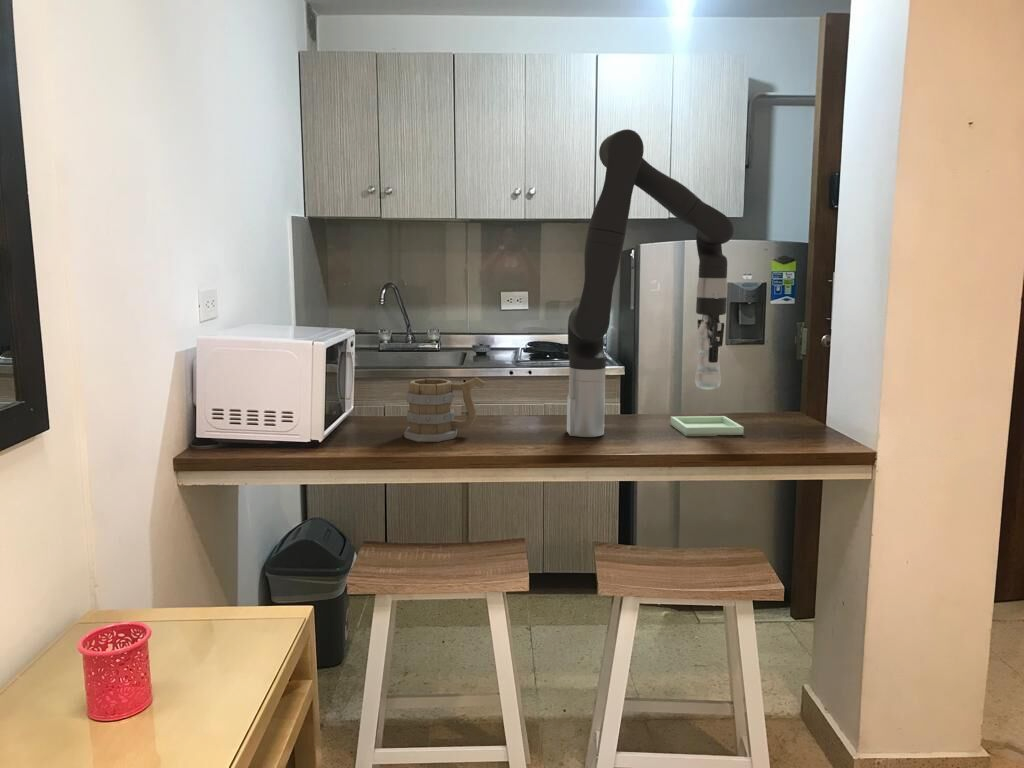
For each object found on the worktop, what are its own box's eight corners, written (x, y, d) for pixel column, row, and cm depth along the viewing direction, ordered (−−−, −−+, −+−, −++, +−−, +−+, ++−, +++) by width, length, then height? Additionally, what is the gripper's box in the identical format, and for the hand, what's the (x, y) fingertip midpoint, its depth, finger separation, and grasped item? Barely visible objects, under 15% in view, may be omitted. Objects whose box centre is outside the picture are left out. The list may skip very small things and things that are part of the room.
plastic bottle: (723, 391, 190) (727, 313, 187) (697, 391, 190) (701, 313, 187) (716, 387, 196) (720, 312, 193) (691, 387, 196) (694, 312, 193)
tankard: (402, 441, 180) (401, 381, 177) (409, 430, 192) (408, 373, 190) (483, 442, 180) (483, 381, 177) (486, 431, 192) (486, 374, 190)
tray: (685, 436, 187) (686, 427, 187) (670, 424, 201) (670, 416, 201) (743, 435, 188) (743, 427, 188) (724, 423, 202) (724, 416, 202)
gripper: (688, 294, 196) (686, 357, 199) (706, 297, 182) (703, 364, 184) (716, 294, 196) (713, 357, 199) (736, 297, 182) (732, 364, 185)
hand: (708, 360), depth 192 cm, fingers closed on plastic bottle, 6 cm apart
